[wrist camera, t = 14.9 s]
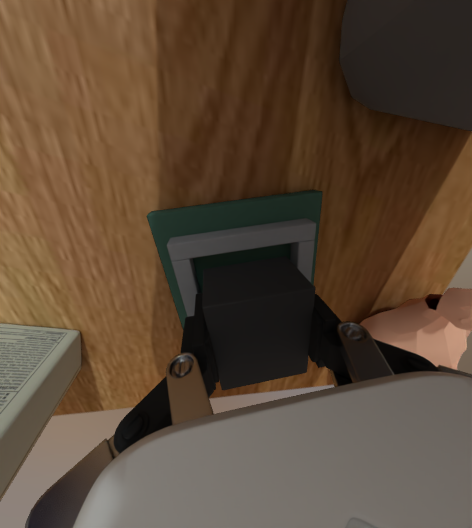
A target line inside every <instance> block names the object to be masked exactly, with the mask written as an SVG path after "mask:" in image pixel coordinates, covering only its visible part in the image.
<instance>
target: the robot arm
mask: <svg viewBox="0 0 472 528" xmlns="http://www.w3.org/2000/svg"><path fill="white" fill-rule="evenodd" d="M202 303H203V293H198V294H196V297H195V310H194V316H189V317H186V318H185V324H184V331H183V338H182V346H181V353H180V354H178V355H176V356H175V357H174V358H172V359H171V360H170V362H169V363H168V365H167V368H166V377H165V378H164V379H163V380H162V381H161V382H160V383H159V384H158V385H157V386H156V387H155V388H154V389H153V390H152V391H151V392H150V393H149V394H148V395H147V396H146V397H145V398H144V399H143V400H142V401H141V402H139V403H138V404H137V405H136V406H135V407H134V408H133V409H132V410H131V411H130V412H129V413H128V414H127V415H126V416H125V417H124V419H123V420H122V421H121V422H120V424H119V425H118V427H117V429H116V431H115V434H114V435H113V436H112V437H111V438H110V439H109V440H107V439H105V440H103V441H102V442H101V443H100V444H99V445H98V446H97V447H96V448H94V449H93V450H92V451H91V452H90V453H89V454H88V455H87V456H85V457H84V458H83V459H82V460H81V461H80V462H78V463H77V464H76V465H75V466H74V467H73V468H72V469H70V470H69V471H68V472H67V473H66V474H65V475H64V476H63V477H61V478H60V479H59V480H58V481H57V482H56V483H55V484H53V485H52V486H51V487H50V488H49V489H48V490H47V491H46V492H45V493H44V494H43V495H42V496H41V497H40V498H39V500H38V501H37V502H36V504H35V505H34V507H33V508H32V510H31V512H30V514H29V516H28V519H27V521H26V524H25V528H472V375H471V374H468V373H465V372H462V371H458V370H455V369H452V368H448V367H445V366H442V365H438V367H436V366H435V365H434V364H433V363H431V362H430V361H429V360H427V359H426V358H424V357H422V356H420V355H418V354H415V353H413V352H410V351H407V350H404V349H401V348H398V347H396V346H393V345H390V344H387V343H384V342H381V341H378V340H376V339H373V338H372V336H371V335H370V333H369V331H368V330H367V329H366V328H365V327H363V326H362V325H360V324H358V323H355V322H350V321H346V322H341V320H340V319H339V318H338V317H337V316H336V315H335V314H334V313H333V311H332V310H331V309H330V308H329V307H328V306H327V305H326V304H325V303H324V301H323V300H322V299H321V298H320V297H319V296H318V295H317V294H315V298H314V308H313V313H312V322H311V332H310V342H309V351H308V355H309V357H310V359H311V360H312V362H316V364H317V366H318V368H320V367H324V366H326V368H328V369H330V373H331V376H332V380H333V383H334V386H335V387H333V388H329V389H324V390H320V391H315V392H310V393H306V394H301V395H297V396H293V397H288V398H283V399H279V400H274V401H270V402H266V403H261V404H257V405H252V406H248V407H244V408H239V409H235V410H230V411H226V412H222V413H217V414H213V410H212V407H211V404H210V401H209V397H210V396H211V394H212V393H213V392H214V390H216V382H219V373H218V368H217V364H216V360H215V356H214V351H213V347H212V343H211V339H210V334H209V332H208V329H207V325H206V321H205V317H204V313H203V309H202Z"/></svg>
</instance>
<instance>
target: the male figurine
mask: <svg viewBox="0 0 472 528" xmlns="http://www.w3.org/2000/svg"><path fill="white" fill-rule="evenodd" d="M360 325H362V326H363V327H365V328H366V329H367V330H368V331H369V333H370V335H371V336H372V338H373V339H376V340H378V341H381V342H384V343H387V344H390V345H393V346H396V347H398V348H401V349H404V350H407V351H410V352H413V353H415V354H418V355H420V356H422V357H424V358H426V359H427V360H429V361H430V362H431V363H433V364H434V365H435V366H436V367H438V365H442V366H445V367H448V368H452V369H455V370H457V364H458V362H459V359H460V357H461V355H462V354H463V353H464V351H465V350H466V349H467V341H466V338H467V337H468V336H469V334H470V332H471V331H472V289H462V288H449V289H447V291H446V292H445V293H444V295H439V294H429V295H427V296H425V297H424V298H421V299H409V300H408V301H406V302H405V303H403V304H402V305H400V306H399V307H397V308H396V309H393V310H389V311H385V312H381V313H378V314H376V315H374V316H371V317H369V318H367V319H365V320H363V321H362V322H361V323H360Z"/></svg>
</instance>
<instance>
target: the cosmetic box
mask: <svg viewBox="0 0 472 528" xmlns="http://www.w3.org/2000/svg"><path fill="white" fill-rule="evenodd" d="M80 369H81V338H80V332H79V331H77V330H68V329H58V328H47V327H35V326H23V325H14V324H0V501H1V499H2V498H3V496H4V495H5V493H6V491H7V490H8V488H9V486H10V484H11V483H12V481H13V480H14V478H15V476H16V475H17V473H18V471H19V470H20V468H21V466H22V465H23V463H24V462H25V460H26V458H27V457H28V455H29V453H30V452H31V450H32V448H33V447H34V445H35V443H36V442H37V440H38V438H39V437H40V435H41V433H42V432H43V430H44V428H45V427H46V425H47V423H48V422H49V420H50V419H51V417H52V415H53V414H54V412H55V410H56V409H57V407H58V405H59V404H60V402H61V401H62V399H63V397H64V396H65V394H66V392H67V391H68V389H69V387H70V386H71V384H72V383H73V381H74V379H75V378H76V376H77V374H78V373H79V371H80Z"/></svg>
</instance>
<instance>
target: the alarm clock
mask: <svg viewBox="0 0 472 528" xmlns="http://www.w3.org/2000/svg"><path fill="white" fill-rule="evenodd" d="M339 62H340V65H341V68H342V71H343V74H344V77H345V80H346V82H347V85H348V88H349V91H350V94H351V97H352V98H354V99H355V100H357V101H358V102H360V103H361V104H363V105H364V106H366V107H367V108H369V109H371V110H376V111H380V112H385V113H389V114H394V115H399V116H403V117H408V118H413V119H417V120H422V121H426V122H431V123H436V124H440V125H445V126H449V127H454V128H459V129H463V130H468V131H472V0H347V3H346V7H345V11H344V15H343V19H342V31H341V44H340V58H339Z"/></svg>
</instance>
